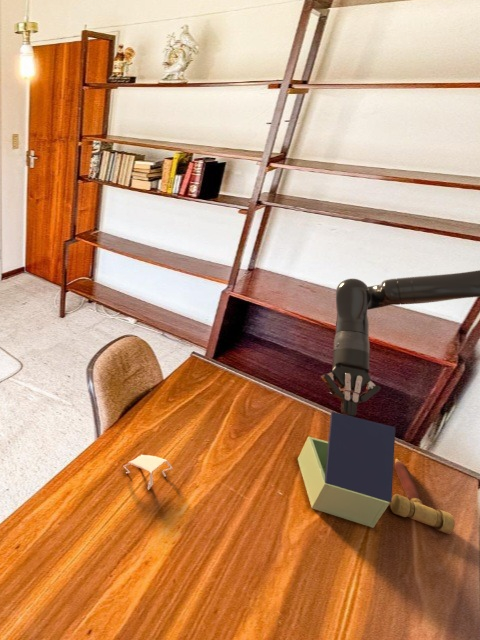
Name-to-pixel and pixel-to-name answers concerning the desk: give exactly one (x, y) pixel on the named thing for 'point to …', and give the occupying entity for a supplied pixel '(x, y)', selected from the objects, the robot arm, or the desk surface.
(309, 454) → the box
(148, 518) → the desk surface
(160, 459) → the miniature stool
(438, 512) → the gavel
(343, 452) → the lid
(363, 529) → the desk surface
